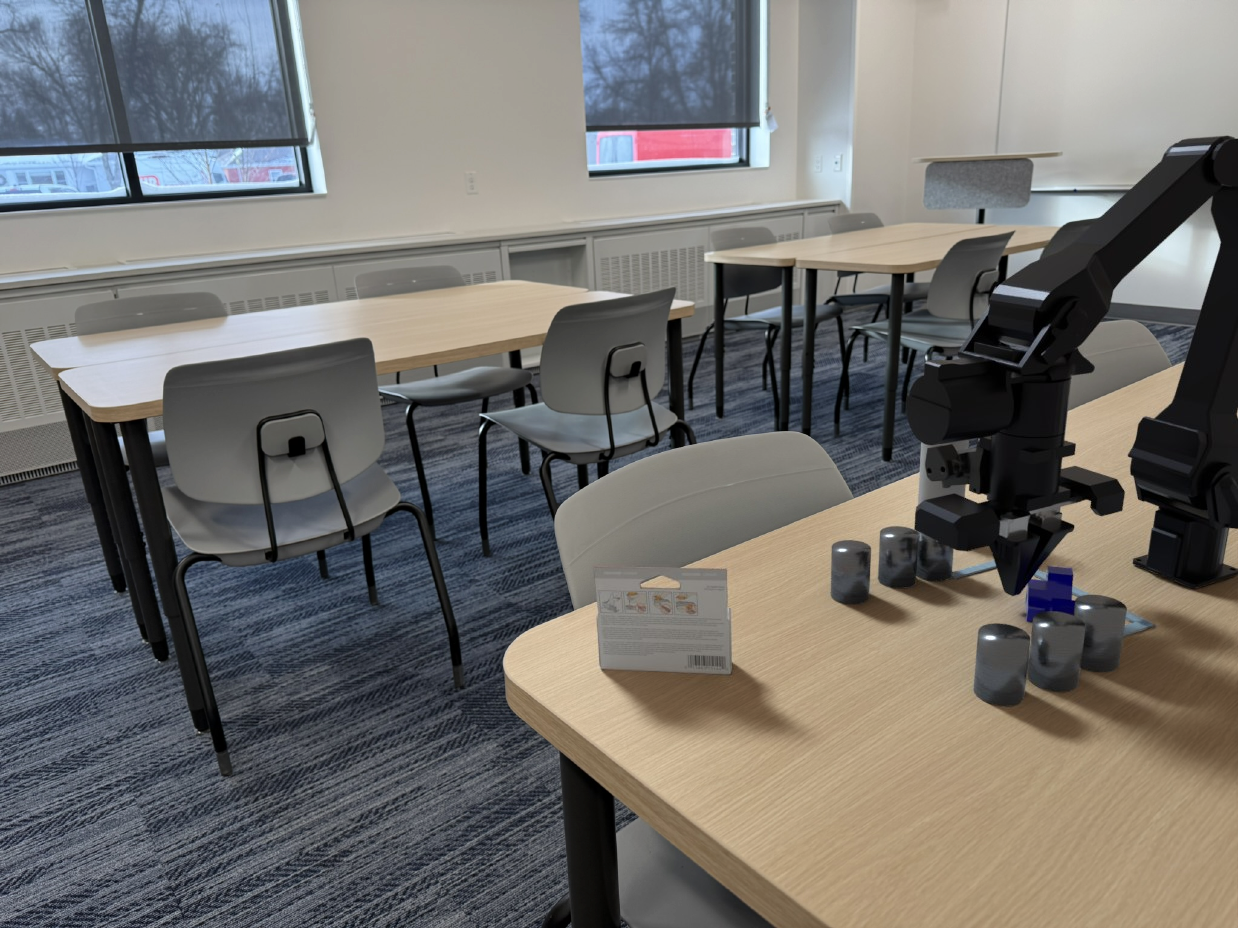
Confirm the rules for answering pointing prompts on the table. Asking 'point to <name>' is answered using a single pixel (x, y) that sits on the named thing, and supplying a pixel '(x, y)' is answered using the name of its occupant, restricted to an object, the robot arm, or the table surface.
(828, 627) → the table surface
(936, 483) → the beverage can
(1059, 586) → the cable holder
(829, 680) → the table surface
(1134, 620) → the taped bay
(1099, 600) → the spacers
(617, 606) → the ink cartridge box
